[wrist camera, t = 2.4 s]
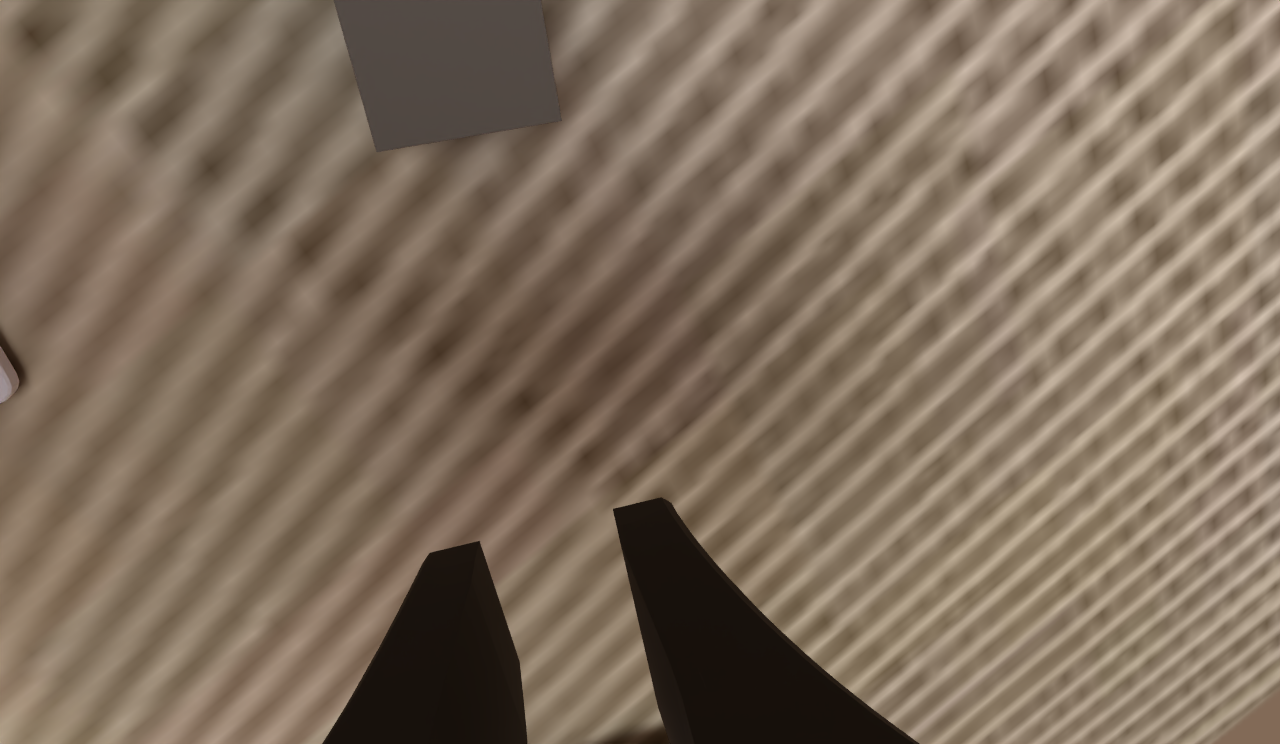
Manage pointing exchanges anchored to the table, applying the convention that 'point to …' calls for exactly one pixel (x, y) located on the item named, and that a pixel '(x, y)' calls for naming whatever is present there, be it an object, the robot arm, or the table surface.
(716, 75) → the table surface
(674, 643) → the robot arm
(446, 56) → the push rod
